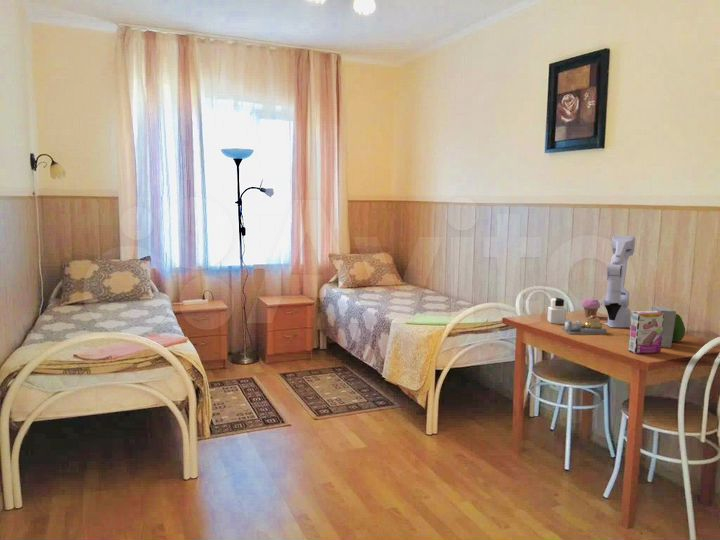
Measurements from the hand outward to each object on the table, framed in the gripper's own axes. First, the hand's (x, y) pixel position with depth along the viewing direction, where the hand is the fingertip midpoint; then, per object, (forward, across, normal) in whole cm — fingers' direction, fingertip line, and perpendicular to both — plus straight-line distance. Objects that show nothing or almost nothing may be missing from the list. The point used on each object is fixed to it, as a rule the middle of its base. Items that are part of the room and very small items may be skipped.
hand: (611, 319), depth 249 cm
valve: (+5, +7, -4) cm, 10 cm away
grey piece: (+6, +11, -6) cm, 14 cm away
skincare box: (+6, +1, +24) cm, 25 cm away
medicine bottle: (+6, +7, -26) cm, 27 cm away
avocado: (+6, -10, +23) cm, 26 cm away
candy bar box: (+6, +17, +28) cm, 34 cm away
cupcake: (+6, -18, -27) cm, 33 cm away
